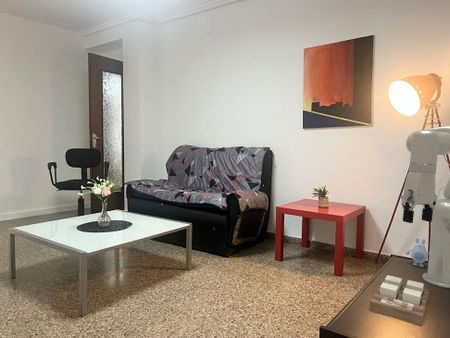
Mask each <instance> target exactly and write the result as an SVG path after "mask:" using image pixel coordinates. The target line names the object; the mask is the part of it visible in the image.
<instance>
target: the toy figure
mask: <svg viewBox="0 0 450 338" xmlns="http://www.w3.org/2000/svg"><path fill="white" fill-rule="evenodd" d="M419 238H420V237H417V238H415V240H414V241H415V245H414V246H413V248H411V249H408V250H406V251H405V255H410V256H411V259H412V260H413V261H414V262H413V263H412V265H413V266H414V265H415V266H414V267H417V266H418V267H420V268H424V264H423V263H425V262H426V261H427V260H428V258H429V251H428V250H427V248H426V245H425V244H426V239H425V238H422V239H421V242H420V239H419ZM410 252H411V253H410Z"/></svg>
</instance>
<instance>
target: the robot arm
mask: <svg viewBox="0 0 450 338" xmlns="http://www.w3.org/2000/svg"><path fill="white" fill-rule="evenodd" d="M405 142H406V143H405V144H406V145H405V146H406V149H407V150H408V151H409V152H410V156H409V158H410V159H409V166H408V167H409V169H408V172H407V176H406V178H405V182H404V187H403V194H402V195H400V200H401V206H402V210H403V213H402V222H405V223H408V224H413V223H414V217H415V211H414V208H415V207H416V205H417V206H418V205H419V206H422V211H421V221H423V222H424V221H425V222H428V223H431V225H430V227H431V229H430V230H431V231H430V232H431V233H430V241H429V251H428V253H429V254H428V263H427V264H428V265H427V272H424V273H422V279H423V280H424V281H425V282H426V283H429V284H431V285H433V286H437V287H439V288H445V289H446V288H447V289H450V177H449V178H448V180H447V183H446V185H445V187H444V189H443V197H444V198H439V199H438V195H437V194H436V175H437V163H438V156H447V155H450V125H447V126H439V127H433V128H426V129H420V130H416V131H412V132H411V133H410V134H409V135H408V136H407V138H406V141H405Z"/></svg>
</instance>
